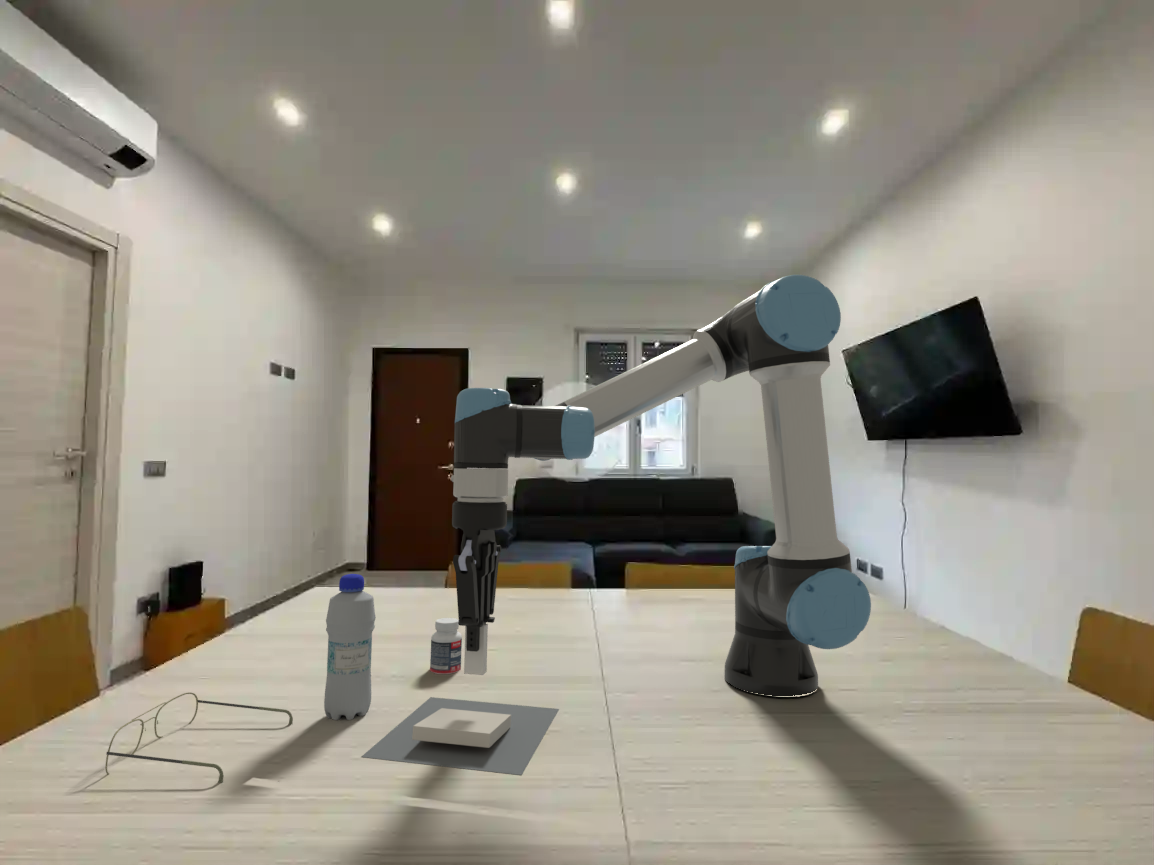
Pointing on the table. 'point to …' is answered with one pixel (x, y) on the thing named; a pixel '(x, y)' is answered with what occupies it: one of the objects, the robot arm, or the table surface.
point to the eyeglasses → (188, 723)
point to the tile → (462, 727)
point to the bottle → (349, 649)
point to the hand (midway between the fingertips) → (475, 672)
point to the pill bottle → (446, 647)
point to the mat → (500, 757)
